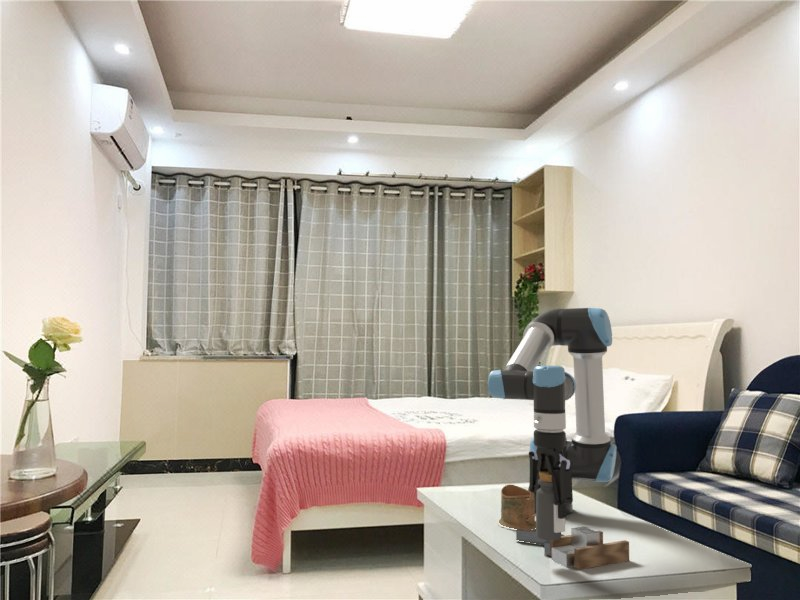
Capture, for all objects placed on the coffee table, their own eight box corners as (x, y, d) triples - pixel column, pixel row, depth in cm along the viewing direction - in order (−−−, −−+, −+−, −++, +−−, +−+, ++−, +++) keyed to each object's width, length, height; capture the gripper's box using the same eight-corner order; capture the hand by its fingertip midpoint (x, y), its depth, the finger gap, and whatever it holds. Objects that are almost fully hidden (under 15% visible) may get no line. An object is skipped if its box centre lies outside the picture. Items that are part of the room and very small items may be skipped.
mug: (523, 538, 166) (523, 493, 167) (490, 521, 183) (490, 480, 184) (559, 534, 171) (558, 490, 172) (523, 518, 187) (523, 478, 188)
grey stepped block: (584, 555, 154) (584, 526, 154) (599, 562, 149) (599, 532, 149) (551, 560, 150) (551, 530, 150) (566, 567, 145) (566, 536, 145)
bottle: (543, 541, 143) (544, 475, 144) (531, 533, 149) (532, 470, 150) (566, 539, 145) (566, 474, 146) (552, 532, 150) (553, 469, 151)
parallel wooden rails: (599, 548, 159) (599, 530, 159) (629, 560, 150) (629, 541, 150) (550, 556, 152) (550, 537, 153) (577, 569, 143) (577, 549, 144)
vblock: (541, 537, 168) (541, 525, 168) (575, 552, 156) (575, 539, 156) (514, 540, 164) (514, 529, 165) (547, 556, 152) (546, 544, 152)
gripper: (513, 425, 155) (514, 519, 154) (563, 436, 139) (564, 541, 137) (537, 424, 159) (538, 515, 157) (588, 434, 142) (590, 537, 140)
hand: (550, 527), depth 147 cm, fingers closed on bottle, 6 cm apart
